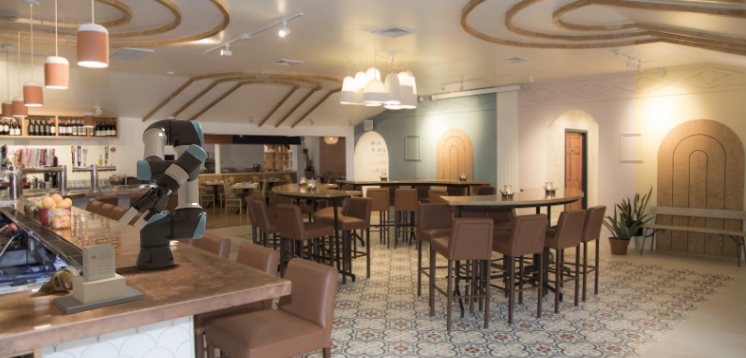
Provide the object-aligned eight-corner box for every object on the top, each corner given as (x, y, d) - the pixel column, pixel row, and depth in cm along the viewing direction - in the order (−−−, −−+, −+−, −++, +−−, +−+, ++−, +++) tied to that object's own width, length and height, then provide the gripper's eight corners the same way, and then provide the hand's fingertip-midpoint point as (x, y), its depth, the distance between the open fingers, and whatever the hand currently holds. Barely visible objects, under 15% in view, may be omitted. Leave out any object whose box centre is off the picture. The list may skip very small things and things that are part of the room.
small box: (109, 274, 159) (109, 243, 159) (115, 277, 155) (115, 245, 155) (82, 278, 153) (81, 246, 153) (88, 281, 150) (87, 248, 149)
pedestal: (53, 303, 152) (52, 279, 152) (126, 289, 168) (125, 268, 168) (67, 314, 141) (67, 289, 141) (144, 298, 157) (143, 276, 157)
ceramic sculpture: (87, 260, 175) (69, 272, 160) (88, 283, 176) (71, 297, 161) (55, 261, 173) (34, 274, 158) (56, 284, 174) (36, 299, 159)
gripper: (195, 188, 164) (152, 236, 154) (165, 185, 181) (124, 228, 171) (180, 173, 160) (134, 222, 150) (150, 171, 177) (107, 215, 167)
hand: (128, 225), depth 160 cm, fingers open, 13 cm apart
